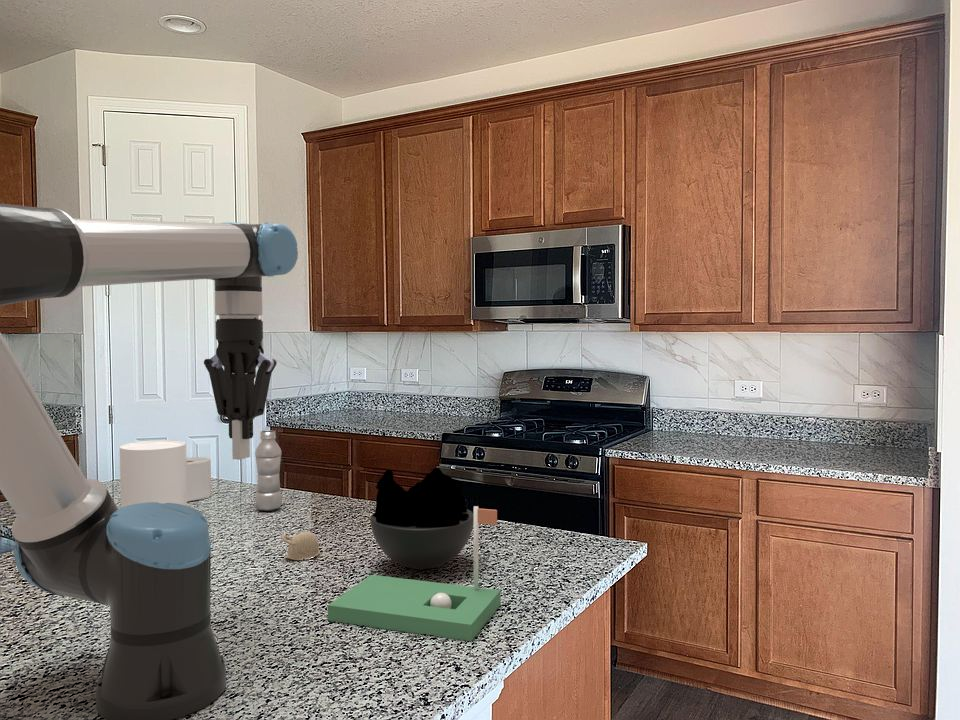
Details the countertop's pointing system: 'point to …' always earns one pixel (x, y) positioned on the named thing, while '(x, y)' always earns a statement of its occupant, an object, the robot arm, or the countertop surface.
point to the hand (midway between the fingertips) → (241, 457)
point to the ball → (441, 601)
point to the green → (420, 601)
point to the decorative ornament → (302, 546)
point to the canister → (153, 472)
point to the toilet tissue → (198, 478)
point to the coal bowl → (421, 520)
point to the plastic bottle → (268, 472)
